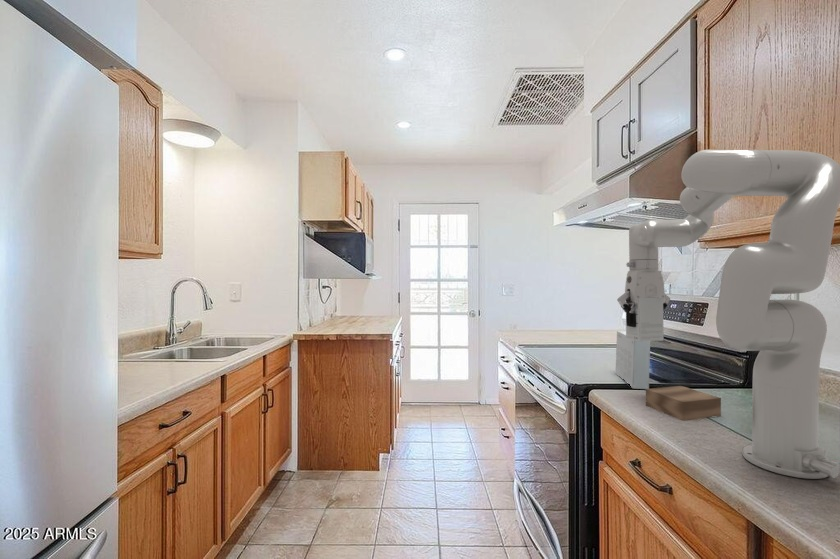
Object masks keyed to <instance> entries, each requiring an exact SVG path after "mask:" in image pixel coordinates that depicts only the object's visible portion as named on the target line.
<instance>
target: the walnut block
mask: <svg viewBox="0 0 840 559" xmlns="http://www.w3.org/2000/svg"><path fill="white" fill-rule="evenodd" d="M645 406H646V407H649V408H650V409H653V410H656V411H659V412H661V413H663V414H666V415H668V416H671V417H673V418H675V419H678V420H681V421H689V420H700V419H707V417H709V418H713V417H712V416H717V417H722V398H721V397H719V396H717V395H713V394H709V393H705V392H703V391H699V390H696V389H693V388H690V387H687V386H684V385H683V386H682V385H674V386H665V387H664V386H663V387H653V388H649V389H645Z"/></svg>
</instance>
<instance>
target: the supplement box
mask: <svg viewBox="0 0 840 559" xmlns="http://www.w3.org/2000/svg"><path fill="white" fill-rule="evenodd" d="M630 299H631V297H629V300H630ZM631 302H632V300H631ZM626 304H627V303H626ZM631 306H632V305H631ZM634 313H636V327H629V326H627V322H626V321H625V329H626V330H625V331H626V337H627V338H629V339H633V340H636V341H650V342H654V341H655V342H657V341H658V342H659V341H662V342H663V341H664V312H663V297H643V298H638V305H636V304H635V311H634Z"/></svg>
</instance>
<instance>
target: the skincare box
mask: <svg viewBox="0 0 840 559" xmlns="http://www.w3.org/2000/svg"><path fill="white" fill-rule="evenodd" d="M650 359H651V341H636V340H633V339H629V338H627V337H626V330H617V331H616V349H615V371H614V372H615V375H616V376H618V377H619V376H620V377H621V378H622V379H624V380H625V381H626V382H628V383H629V384H630V386H631V387H630V386H629V387H630V388H632V389H636V390H639V389H640V390H646V389H650V363H651V362H650V361H651V360H650ZM620 377H619V378H620ZM621 378H620V379H621ZM622 379H621V380H622ZM624 380H623V381H624ZM625 381H624V382H625ZM626 382H625V383H626Z"/></svg>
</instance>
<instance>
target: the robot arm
mask: <svg viewBox="0 0 840 559" xmlns="http://www.w3.org/2000/svg"><path fill="white" fill-rule="evenodd" d="M680 174H681V176H680V177H681V180H682V183H683V185H685V188H684V189H683V190H682V191H681V193H680V196H679V203H680V206H681V207H682V209H683V210H684V211H685V213H686V212H687V214H688V215H687V216H686V217H685V218H682V219H647V220H645V221H643V222H641V223H637V224H633V225H631V226H630V227H629V229H628V248H629V249H628V251H629V252H628V254H629V255H628V256H629V258H628V259H629V262H626V264H625V265H626V267H627V268H628V271H627V273H626V280H625V286H624V293H623V294H621V295H620V296H619V297H618V298H617V302H618V304H619V305H620V307H621V308H622V310H623V311H624V313H625V323H626V322H627V326H629V327H636V313H634V311H635V304H636V305H638V298H643V297H663V313H664V312H665V309H666V308H667V307H668V304H669V302H670V301H671V297H669V295H667V294H665V292H666V290H665V284H664V277H663V273H662V270H659V248H682V247H683V248H684V247H686V246H689V245H691V244H694V243H695V242H696V241H698V240H699V239H700V238H702V237H703V236H705V235H706V234H707V233H708V232H709V230H710V229H711V227H712V224H713V222H714V219H715V212H716V211H717V210H718V209H720V208H721V207H722V206H723V205H725V204H726V203H727V202H729V201H730V200H731V199H733V197H735V196H737V197H739V196H740V197H741V196H742V197H785V198H786V199H785V201H784V202H782V204H781V205H780V207H779V208H778V209H777V211H776V212H775V213H774V216H773V218H772V221H771V224H770V233H769V237H768V241H767V242H754V243H748V244H744V245H742V246H739V247H737V248H736V249H734V250H733V251H732V252H731V253H730V254H729V255H728V257H727V259H726V260H725V263H724V265H723V269H722V271H721V272H722V273H721V278H720V279H721V280H720V287H719V293H718V300H717V301H718V303H717V307H716V308H717V309H716V317H715V318H716V319H715V321H716V322H715V325H716V332H717V334H718V336H719V339H720V340H721V342H723V343H724V345H726V346H727V347H728V348H731V349H733V350H736V351H744V352H747V351H748V352H749V351H750V352H751V351H752V352H754V351H755V352H758V354H757V356H756V358H755V361H754V363H753V368H752V422H751V423H752V425H751V426H752V428H751V430H752V439H751V440H752V442H751V443H752V444H749V445H745V446H744V447H742V456H743V458H745V459H746V461H748V462H749V463H751V464H753V465H755V466H756V467H759V468H761V469H763V470H766V471H769V472H773V473H775V474H779V475H782V476H787V477H793V478H798V479H807V480H809V479H811V480H817V479H818V480H819V479H820V480H821V479H825V478H827V477H830V478H834V479H835V478H837V477H839V475H840V463H838V462H836V461H833V460H829V459H827V457H826V449H824V448H821V447H819V432H820V431H819V429H820V428H819V422H820V421H819V416H820V415H819V414H820V411H819V409H820V408H819V407H820V406H819V404H820V403H819V402H820V400H819V399H820V398H819V392H820V391H819V390H820V365H821V357H822V354H823V349H824V345H825V342H826V339H827V333H828V332H827V331H828V329H827V327H828V326H827V321H826V318H825V316H824V315H823V313H822V312H821V311H820V310H819V309H818V308H817V307H816V306H814V305H812V304H811V303H809V302H806V301H803V300H802V301H801V300H797V299H771V295H792V294H804V293H809V292H812V291H815V290H817V289H818V288H820V286H821V285H822V283H823V282H824V279H825V276H826V272H827V268H828V263H829V262H828V261H829V257H830V256H829V255H830V251H831V244H832V239H833V232H834V227H835V220H836V217H837V213H838V210H839V206H840V164H839V163H838V162H837V161H836V160H835V159H833V158H831V157H830V156H828V155H825V154H822V153H819V152H814V151H807V150H806V151H805V150H792V149H791V150H789V149H786V150H785V149H784V150H783V149H782V150H776V149H775V150H771V149H769V150H768V149H766V150H765V149H702V150H699V151H697V152H695V153H694V154H692V155H691V156H690V157H688V159H687V160H686V161H685V162H684V164H683V167H682V170H681V173H680ZM629 297H631V299H630V300H629ZM631 300H632V302H631ZM626 303H627V304H626ZM631 305H632V306H631Z"/></svg>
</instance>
